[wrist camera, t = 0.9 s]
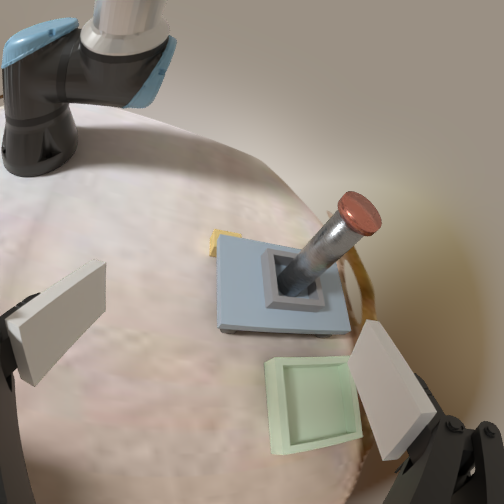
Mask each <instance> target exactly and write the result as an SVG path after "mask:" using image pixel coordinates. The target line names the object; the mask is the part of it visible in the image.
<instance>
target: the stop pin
mask: <svg viewBox="0 0 504 504" xmlns="http://www.w3.org/2000/svg"><path fill="white" fill-rule="evenodd" d="M381 224H382V222H381V217H380V215H379V213H378V211H377V209H376V208H375V207H374V205H373V204H372V203H371V202H370V201H369V200H368V199H366V198H365V197H364V196H362V195H361V194H359V193H356V192H352V191H348V192H346V193H345V194H344V195H343V197H342V198H341V199H340V200H339V202H338V211H336V212H335V214H334V215H333V216H332V217H331V218H330V219H329V220H328V221H327V223H326V224H325V225H324V226H323V227H322V228H321V229H320V230H319V231H318V233H317V234H316V235H315V236H314V237H313V238H312V239H311V240H310V241H309V242H308V244H307V245H306V246H305V247H304V248H303V249H302V250H301V251H300V252H299V253H298V254H297V256H296V257H295V258H294V259H293V260H292V261H291V262H290V263H289V264H288V265H287V266H286V267H285V268H284V270H283V271H282V272H281V273H280V274H279V275H278V276H277V286H278V289H279V291H280V292H281V293H282V294H283V295H285V296H287V297H296V296H298V295H299V294H300V293H301V292H302V291H303V290H305V289H306V288H307V287H308V286H309V285H310V284H312V283H313V282H314V281H315V280H316V279H317V278H318V277H319V276H321V275H322V274H323V273H324V272H325V271H326V270H327V269H328V268H330V267H331V266H332V265H333V264H334V263H335V262H336V261H337V260H338V259H340V258H341V257H342V256H343V255H344V254H345V253H346V252H347V251H348V250H349V249H350V248H352V247H353V246H354V245H355V244H356V243H357V242H358V241H359V240H360V239H361V238H362V237H363V236H372V235H373V234H374V233H375V232H376V231H377V230H378V229H379V228H380V227H381Z"/></svg>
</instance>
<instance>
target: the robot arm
mask: <svg viewBox="0 0 504 504" xmlns="http://www.w3.org/2000/svg"><path fill="white" fill-rule="evenodd" d="M166 2H167V0H95V5H94V15H93V18H91V19H90V20H89V21H88V22H87V23H86V24H85V25H84V26H83V28H82V29H78V26H79V23H78V20H77V19H76V18H61V19H55V20H50V21H47V22H43V23H40V24H37V25H34V26H31V27H29V28H26V29H24V30H22V31H20V32H18V33H17V34H15V35H13V36H12V37H11V38H10V39H9V40H8V41H7V42H6V44H5V46H4V50H3V60H2V66H1V68H2V77H3V78H2V79H3V97H4V109H5V118H6V124H5V129H4V135H3V142H2V149H1V153H2V159H3V163H4V166H5V168H6V169H7V170H8V171H9V172H10V173H12V174H14V175H18V176H24V177H29V176H37V175H41V174H45V173H47V172H50V171H52V170H54V169H56V168H58V167H60V166H61V165H63V164H64V163H65V162H66V161H67V160H69V159H70V157H71V156H72V155H73V154H74V152H75V150H76V148H77V138H78V133H77V128H76V125H75V122H74V119H73V117H72V114H71V111H70V108H69V103H79V104H91V105H101V106H111V107H120V108H123V109H124V108H146V107H148V106H149V105H150V104H151V103H152V102H153V101H154V99H155V97H156V95H157V93H158V91H159V88H160V86H161V84H162V81H163V79H164V76H165V72H166V71H167V68H168V66H169V64H170V62H171V59H172V56H173V54H174V51H175V47H176V44H177V40H176V39H175V38H174V37H172V36H170V35H169V31H170V28H169V24H168V22H167V20H166V19H165V18H164V17H163V16H162V15H163V11H164V8H165V5H166ZM105 296H106V262H103V261H99V260H95V259H93V260H91V261H90V262H88V263H87V264H85V265H83V266H82V267H80V268H79V269H77V270H75V271H74V272H72V273H71V274H69V275H68V276H66V277H65V278H63V279H62V280H60V281H59V282H57V283H55V284H54V285H52V286H51V287H49V288H48V289H47V290H45V291H44V292H42V293H37V294H34V295H31V296H29V297H27V298H26V299H24V300H23V301H22V302H20V303H18V304H17V305H16V307H15V306H14V307H13V308H11V309H10V310H8V311H7V312H6V313H4V314H3V315H1V316H0V504H36V502H35V499H34V496H33V493H32V489H31V486H30V482H29V478H28V474H27V470H26V465H25V461H24V456H23V451H22V445H21V440H20V433H19V426H18V418H17V409H16V397H15V379H14V376H13V371H14V370H15V369H16V368H18V371H19V374H20V377H21V379H22V380H24V381H25V382H27V383H29V384H31V385H32V386H34V387H35V386H36V385H37V384H38V383H39V382H40V380H41V379H42V378H43V377H44V376H45V375H46V374H47V373H48V371H49V370H50V369H51V368H52V367H53V366H54V365H55V364H56V362H57V361H58V360H59V359H60V358H61V357H62V356H63V355H64V354H65V353H66V352H67V350H68V349H69V348H70V347H71V346H72V345H73V344H74V343H75V342H76V341H77V340H78V339H79V338H80V337H81V335H82V334H83V333H84V332H85V331H86V330H87V329H88V328H89V327H90V326H91V325H92V324H93V323H94V322H95V321H96V320H97V319H98V318H99V317H100V316H101V315H102V314H103V313H104V312H105V311H106V297H105ZM347 364H348V366H349V369H350V372H351V374H352V377H353V379H354V382H355V385H356V387H357V390H358V393H359V395H360V398H361V401H362V404H363V406H364V409H365V412H366V415H367V417H368V420H369V423H370V426H371V429H372V431H373V434H374V437H375V440H376V443H377V446H378V449H379V452H380V455H381V458H382V461H385V460H395V459H399V458H400V457H401V456H402V454H403V453H404V452H405V451H406V450H407V452H408V454H409V457H408V458H407V459H406V460H405V461H404V462H403V463H402V464H401V465H400V466H399V468H398V469H397V470H396V471H395V473H397V472H398V471H399V470H400V472H399V474H398V476H397V478H396V480H395V482H394V484H393V486H392V488H391V490H390V491H389V493H388V495H387V497H386V498H385V500H384V502H383V504H504V446H503V442H502V438H501V433H500V431H499V429H498V428H497V427H496V425H494V424H493V423H491V422H488V421H483V422H481V423H480V425H479V426H478V427H477V428H476V430H472V429H466V428H465V426H464V424H463V423H462V422H461V421H460V420H459V419H458V418H456V417H453V416H450V415H447V416H446V415H445V414H444V412H443V411H442V409H441V407H440V406H439V404H438V402H437V401H436V399H435V398H434V396H432V393H431V391H430V390H428V387H427V385H426V383H425V382H424V380H422V379H421V378H420V377H419V376H418V375H417V374H416V373H413V372H412V370H411V369H410V367H409V365H408V364H407V362H406V361H405V359H404V358H403V356H402V355H401V353H400V352H399V350H398V349H397V347H396V346H395V344H394V343H393V341H392V340H391V338H390V337H389V335H388V334H387V332H386V331H385V330H384V328H383V326H382V325H381V323H380V322H379V321H373V320H367V319H366V322H365V324H364V326H363V329H362V331H361V333H360V336H359V338H358V340H357V343H356V345H355V347H354V349H353V351H352V354H351V356H350V358H349V360H348V362H347ZM474 467H475V473H474V474H473V475H472V476H471V474H470V471H471V470H472V469H473V468H474Z"/></svg>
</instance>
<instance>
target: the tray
mask: <svg viewBox="0 0 504 504" xmlns="http://www.w3.org/2000/svg"><path fill="white" fill-rule="evenodd" d="M349 358H350V356H330V357H274V358H272V359H270V360H268V361H266V362H265V363H264V371H265V383H266V395H267V408H268V420H269V432H270V445H271V454H278V455H287V454H293V453H298V452H304V451H309V450H314V449H318V448H323V447H327V446H332V445H336V444H340V443H344V442H347V441H351V440H355V439H358V438H362V437H363V435H362V426H361V418H360V410H359V403H358V396H357V389H356V385H355V382H354V379H353V377H352V374H351V372H350V369H349V366H348V364H347V362H348V360H349Z"/></svg>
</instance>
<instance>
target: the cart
mask: <svg viewBox="0 0 504 504" xmlns="http://www.w3.org/2000/svg"><path fill="white" fill-rule="evenodd" d="M300 251H301V249H295V248H290V247H285V246H280V245H275V244H270V243H265V242H260V241H254V240H249V239H244V238H242V236H241V234H238V233H233V232H228V231H223V230H217V229H214V231H213V233H212V236H211V238H210V256H212V257H217V328H220V331H221V332H222V333H235V332H236V331H237V330H245V331H259V332H277V333H299V334H315V335H316V336H317V337H330V336H331V335H332V334H346V333H348V332H350V331H351V327H350V322H349V317H348V312H347V308H346V303H345V298H344V294H343V289H342V285H341V281H340V277H339V272H338V268H337V264H336V262H335V263H334V264H333V265H332V266H331V267H330V268H328V269H327V270H326V271H325V272H324V273H323V274H322V275H321V276H319V277H318V278H317V279H316V280H315V281H314V282H313V283H312V284H310V285H309V286H308V287H307V288H306V289H305V290H303V291H302V292H301V293H300V294H299V295H298V296H296V297H287V296H285V295H283V294H282V293H281V292H280V291H279V289H278V286H277V276H278V275H279V274H280V273H281V272H282V271H283V270H284V268H285V267H286V266H287V265H288V264H289V263H290V262H291V261H292V260H293V259H294V258H295V257H296V256H297V254H298V253H299V252H300Z"/></svg>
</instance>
